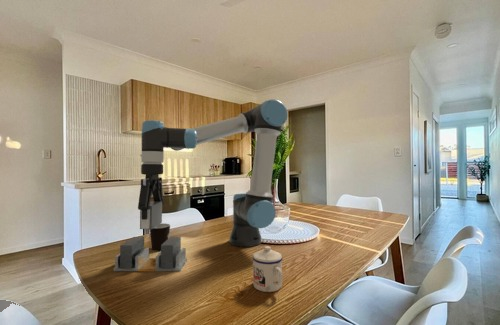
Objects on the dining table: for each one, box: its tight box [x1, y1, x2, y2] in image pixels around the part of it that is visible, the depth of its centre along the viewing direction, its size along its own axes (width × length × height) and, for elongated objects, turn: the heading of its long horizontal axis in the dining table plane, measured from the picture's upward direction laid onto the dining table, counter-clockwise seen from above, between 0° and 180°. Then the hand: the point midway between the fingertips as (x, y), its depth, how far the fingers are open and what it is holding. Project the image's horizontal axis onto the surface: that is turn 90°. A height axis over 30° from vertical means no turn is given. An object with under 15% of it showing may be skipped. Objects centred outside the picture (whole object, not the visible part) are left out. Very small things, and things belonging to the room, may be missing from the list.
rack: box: [113, 236, 188, 273], centre depth 90 cm, size 23×10×9 cm, turn 90°
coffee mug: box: [149, 222, 171, 252], centre depth 110 cm, size 12×9×10 cm
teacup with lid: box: [252, 245, 284, 293], centre depth 75 cm, size 12×9×12 cm
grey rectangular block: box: [139, 201, 163, 230], centre depth 90 cm, size 4×10×8 cm, turn 0°
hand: (151, 224), depth 90 cm, fingers closed on grey rectangular block, 10 cm apart
